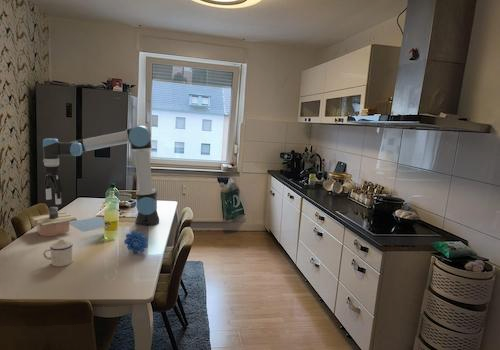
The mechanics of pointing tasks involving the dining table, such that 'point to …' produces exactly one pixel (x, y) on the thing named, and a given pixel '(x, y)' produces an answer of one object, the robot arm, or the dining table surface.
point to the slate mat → (88, 224)
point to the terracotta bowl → (53, 229)
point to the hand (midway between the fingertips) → (53, 201)
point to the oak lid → (53, 217)
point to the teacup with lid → (60, 253)
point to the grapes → (136, 241)
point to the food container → (124, 196)
